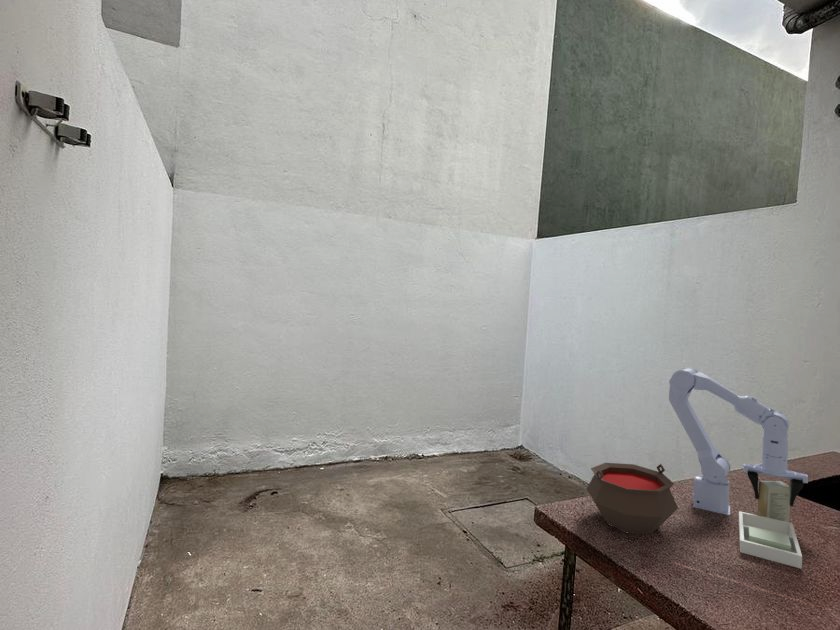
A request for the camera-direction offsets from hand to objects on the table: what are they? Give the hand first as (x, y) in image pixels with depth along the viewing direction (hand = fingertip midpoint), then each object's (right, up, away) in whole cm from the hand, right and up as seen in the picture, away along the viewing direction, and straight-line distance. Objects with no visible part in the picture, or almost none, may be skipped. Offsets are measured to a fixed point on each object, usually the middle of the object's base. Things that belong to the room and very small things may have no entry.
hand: (773, 501), depth 129 cm
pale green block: (-13, -6, -15) cm, 21 cm away
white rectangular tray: (-10, -7, -11) cm, 17 cm away
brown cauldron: (-42, -6, 0) cm, 42 cm away
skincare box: (0, -7, 0) cm, 7 cm away
